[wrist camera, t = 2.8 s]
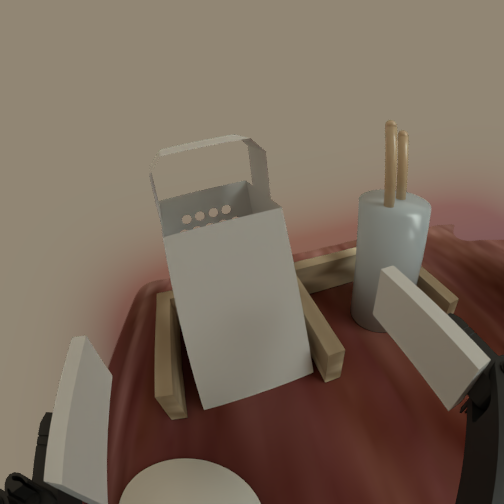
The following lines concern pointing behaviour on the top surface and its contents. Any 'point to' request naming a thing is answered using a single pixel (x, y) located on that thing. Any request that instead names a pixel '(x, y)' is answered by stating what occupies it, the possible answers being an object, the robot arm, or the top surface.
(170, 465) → the plate
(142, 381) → the top surface
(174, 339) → the rack
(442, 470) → the top surface
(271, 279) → the grater
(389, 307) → the robot arm
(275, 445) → the top surface
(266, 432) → the top surface
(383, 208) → the utensil crock
